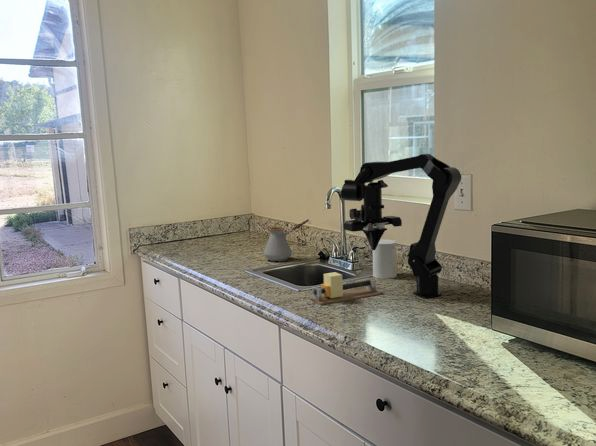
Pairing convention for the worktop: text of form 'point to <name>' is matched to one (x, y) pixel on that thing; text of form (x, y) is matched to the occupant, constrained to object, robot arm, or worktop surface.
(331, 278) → the sleeve
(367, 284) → the rod on a board
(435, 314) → the worktop surface
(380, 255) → the cup
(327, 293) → the band
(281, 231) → the coffee pot
